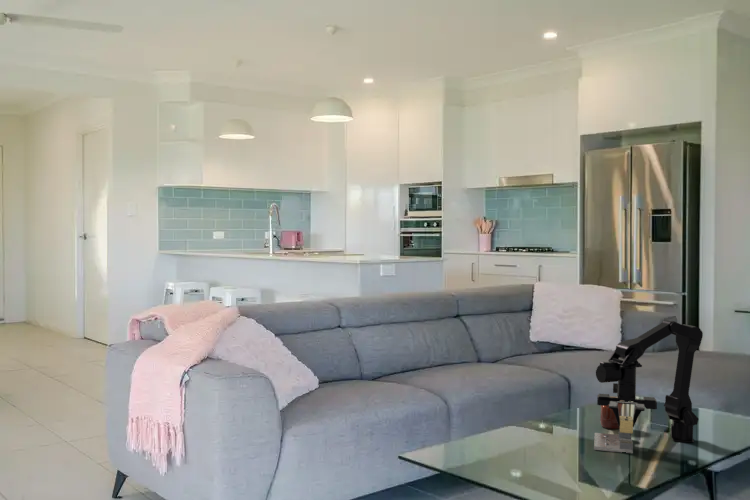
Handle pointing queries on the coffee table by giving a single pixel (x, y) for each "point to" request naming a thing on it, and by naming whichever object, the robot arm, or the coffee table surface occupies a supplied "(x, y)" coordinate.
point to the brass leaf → (626, 424)
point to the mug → (610, 417)
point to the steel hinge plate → (613, 442)
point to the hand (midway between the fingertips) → (626, 426)
